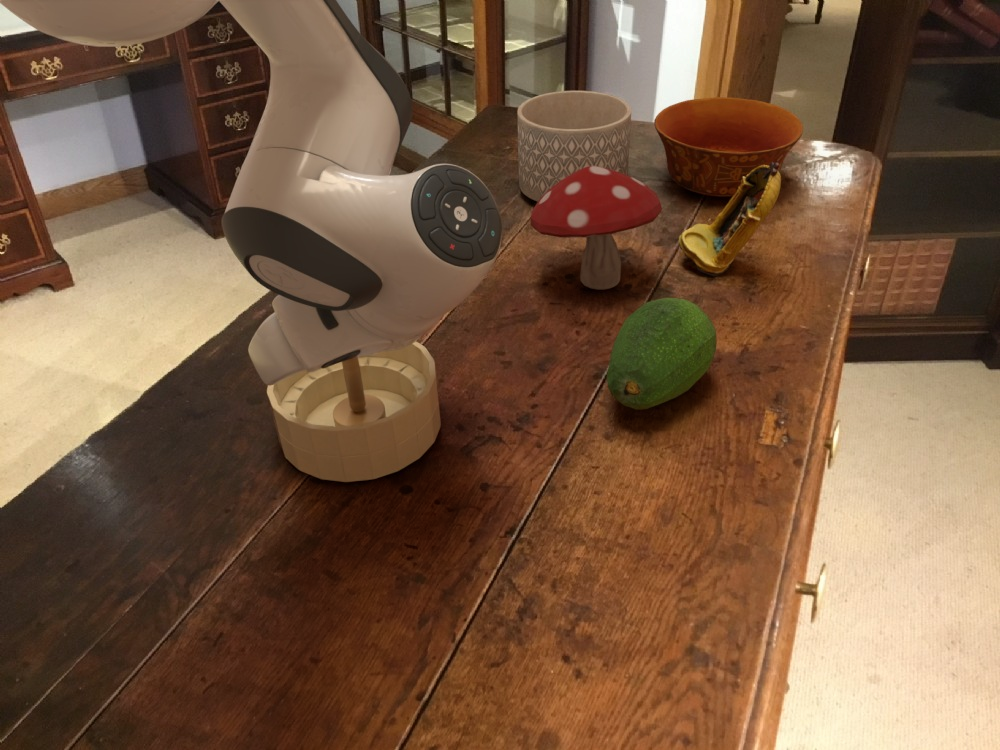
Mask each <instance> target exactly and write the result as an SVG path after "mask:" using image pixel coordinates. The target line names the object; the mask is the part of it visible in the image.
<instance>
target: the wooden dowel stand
mask: <svg viewBox="0 0 1000 750" xmlns="http://www.w3.org/2000/svg"><path fill="white" fill-rule="evenodd" d="M342 366H343V371H344V377H345V382H346V388H347V393H348V398H345V399H344V400H342V401H340V402H339V403H338V404H337V405H336V406H335V408H334V410H333V418H334V423H335V427H341V426H350V425H360V424H366V423H369V422H372V421H376V420H379V419H382V418H385V417H386V412H385V406H384V404H383V402H382V401H381V400H380V399H379V398H377V397H375V396H372V395H364V390H363V384H362V378H361V372H360V366H359V360H358V357H354V358H352V359H350V360H346V361H343V362H342Z"/></svg>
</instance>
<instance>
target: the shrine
mask: <svg viewBox="0 0 1000 750" xmlns="http://www.w3.org/2000/svg"><path fill="white" fill-rule="evenodd" d="M778 168H779V163H773V162H771V163H770V164H769V166H768V165H766V166H765V165H761V166H758V167H757V168H754V169H753V170H752V171H751V172H750V173H749V174H747V175H746V177H744V176H743V177H742V180H741V185H740V186H739V187H738V190H737V191H736V193H735V194H734V196H731V198H730V199H729V201H728V203H726V205H725V206H724V208H723V209H722V211H721V212H720V213H718V215H717V216H716V218H715V219H714V221H713V222H711V224H706V223H696V224H694V225H693V226H691V227H689V228H687V229H685V230H684V231H682V233H681V234H680V235H678V244H679V248H680V250H681V251H682V252H683V254H684V256H685V257H686V258H688V259H689V260H690V261H692V262H694V264H695V265H696V269H697V270H698V271H700V272H702V273H704V274H706V275H709V276H713V277H718V276H720V275H722V274H723V273H726V272H727V271H729V268H730V266H731V264H732V262H733V261H734V260H735V258H736V257H737V256H738V254H739V253H740V252H741V251H742V249H743V248H744V247H745V245H746V244H747V243H749V241H750V240H751V238H752V237H753V236H754V234H755V232H757V230H758V229H759V227H760V226H761V225H762V223H763V222H764V221H765V219H766V218H767V217H768V215H770V212H771V211H772V210H773V208H774V206H775V204H776V202H777V201H778V197H779V195H780V192H781V191H780V190H781V185H782V176H781V172H780V173H779V172H778Z"/></svg>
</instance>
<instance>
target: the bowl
mask: <svg viewBox="0 0 1000 750" xmlns="http://www.w3.org/2000/svg"><path fill="white" fill-rule="evenodd" d="M653 123H654V128H655V130H656V132H657V134H658V136H659V138H660V141H661V143H662V146H663V148H664V152H665V158H666V164H667V170H668V173H669V175H670V177H671V179H672V180H673V181H674V182H675V183H676V184H677V185H678V186H680V187H682V188H684V189H686V190H688V191H690V192H693V193H697V194H701V195H704V196H711V197H723V198H724V197H725V198H730V197H731V198H732V197H733V196H734V194H735V193H736V191H737V190H738V187H739V186H740V185H741V180H742V177H743V176H744V177H746V175H747V174H749V173H750V172H751V171H752V170H753V169H754V168H757V167H758V166H761V165H765V166H766V165H768V166H769V164H770V163H771V162H773V163H779V168H778V172H779V173H780V174H781V170H782V166H783V164H784V161H785V159H786V158H787V155H788V154H789V153H790V151H791V150H792V149H793V147H794V146H795V145H796V144H797V143H798V141H800V139H801V137H802V135H803V133H804V125H803V123H802V121H801V119H800V118H798V117H797V115H796V114H794V113H793V112H792V111H790V110H787V109H786V108H784V107H781V106H780V105H777V104H774V103H770V102H766V101H761V100H758V99H747V98H740V97H724V96H717V97H716V96H715V97H704V98H703V97H702V98H695V99H693V98H692V99H686V100H683V101H679V102H678V103H674V104H670V105H669V106H666V107H664V108H663V109H662V110H661V111H660V112H658V113H657V115H656V116H655V118H654V121H653Z"/></svg>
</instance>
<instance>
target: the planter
mask: <svg viewBox="0 0 1000 750" xmlns="http://www.w3.org/2000/svg"><path fill="white" fill-rule="evenodd" d="M516 113H517V114H516V116H517V153H518V155H517V156H518V157H517V158H518V160H517V161H518V186H519V190H520V191H521V193H522V194H523V195H525V196H526V197H527V198H528V199H531V200H533V201H535V202H536V203H538V201H539V200H540V198H541V197H542V196H543V195H544V194H545V193H546V192H547V191H548V190H549V189H551V188H552V187H553V186H555V185H556V184H557V183H558V182H560V181H561V180H563V179H564V178H566V177H567V176H569V175H571V174H573V173H574V172H576V171H578V170H580V169H583V168H585V167H588V166H597V167H602V168H607V169H610V170H613V171H616V172H619V173H622V174H625V175H628V174H629V159H630V158H629V157H630V143H631V142H630V141H631V124H632V108H631V105H630V104H629V103H628V102H627V101H625V99H623V98H620V97H618V96H615V95H613V94H608V93H604V92H599V91H591V90H561V91H560V90H559V91H553V92H549V93H548V92H547V93H542V94H539V95H536V96H532V97H531V98H529V99H526V100H525V101H523V102H522V103H521V104H520V105H519V106H518V107H517V111H516ZM628 176H629V175H628Z"/></svg>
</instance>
